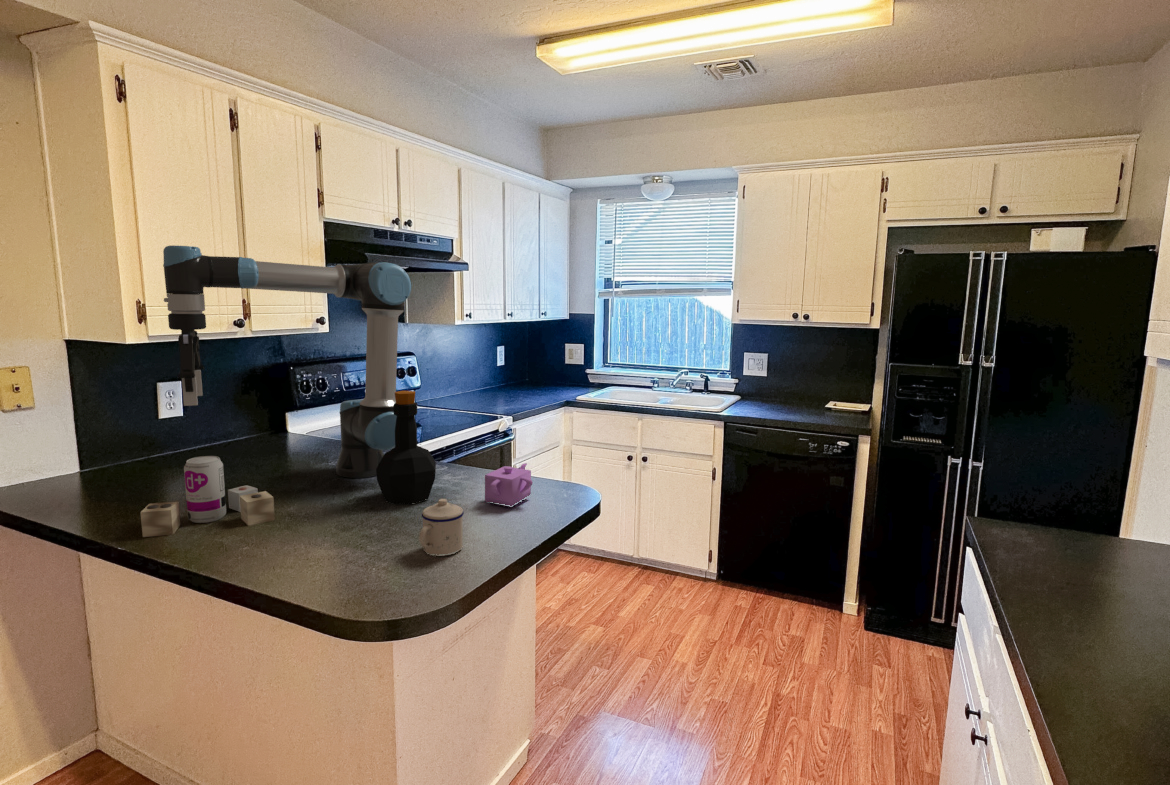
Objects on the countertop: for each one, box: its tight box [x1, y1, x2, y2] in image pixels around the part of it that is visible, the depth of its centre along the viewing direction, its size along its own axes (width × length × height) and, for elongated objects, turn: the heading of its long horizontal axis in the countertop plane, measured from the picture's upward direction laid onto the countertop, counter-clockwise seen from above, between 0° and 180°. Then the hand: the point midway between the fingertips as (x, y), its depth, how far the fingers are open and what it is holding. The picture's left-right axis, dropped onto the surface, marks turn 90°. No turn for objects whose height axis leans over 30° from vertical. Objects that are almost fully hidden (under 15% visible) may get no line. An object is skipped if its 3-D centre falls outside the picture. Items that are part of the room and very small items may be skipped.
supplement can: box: [183, 455, 227, 524], centre depth 154 cm, size 8×8×15 cm
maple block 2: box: [240, 490, 276, 526], centre depth 155 cm, size 6×6×6 cm
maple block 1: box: [140, 501, 181, 538], centre depth 146 cm, size 6×6×6 cm
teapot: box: [484, 462, 533, 506], centre depth 172 cm, size 18×14×10 cm
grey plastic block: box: [227, 484, 259, 513], centre depth 163 cm, size 5×5×5 cm
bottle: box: [376, 390, 437, 505], centre depth 172 cm, size 16×16×30 cm
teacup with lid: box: [418, 498, 465, 555], centre depth 138 cm, size 12×9×12 cm
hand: (193, 400), depth 152 cm, fingers open, 13 cm apart
